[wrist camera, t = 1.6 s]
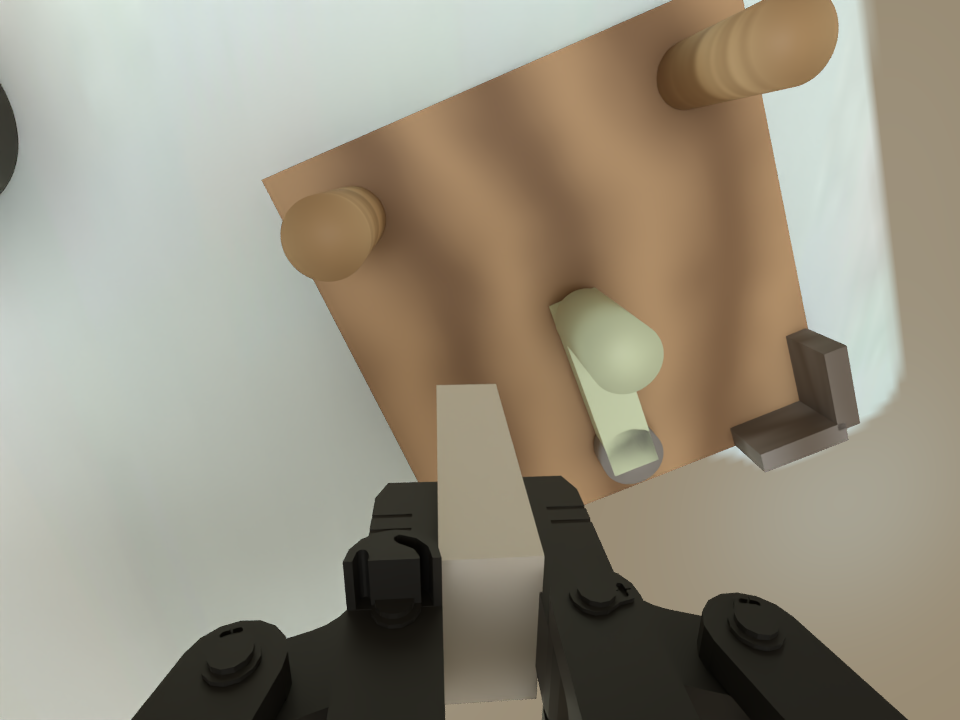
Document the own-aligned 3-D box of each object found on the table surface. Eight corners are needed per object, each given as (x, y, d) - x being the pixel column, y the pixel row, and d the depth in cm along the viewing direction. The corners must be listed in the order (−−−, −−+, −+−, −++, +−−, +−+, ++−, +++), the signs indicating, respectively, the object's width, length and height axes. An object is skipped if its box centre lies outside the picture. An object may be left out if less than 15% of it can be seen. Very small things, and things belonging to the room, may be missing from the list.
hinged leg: (658, 455, 30) (726, 541, 23) (604, 476, 31) (655, 568, 24) (598, 270, 27) (657, 307, 20) (536, 296, 27) (573, 341, 20)
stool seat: (454, 533, 34) (463, 668, 25) (273, 179, 26) (191, 185, 17) (801, 396, 32) (944, 485, 23) (714, -14, 25) (874, -115, 16)
